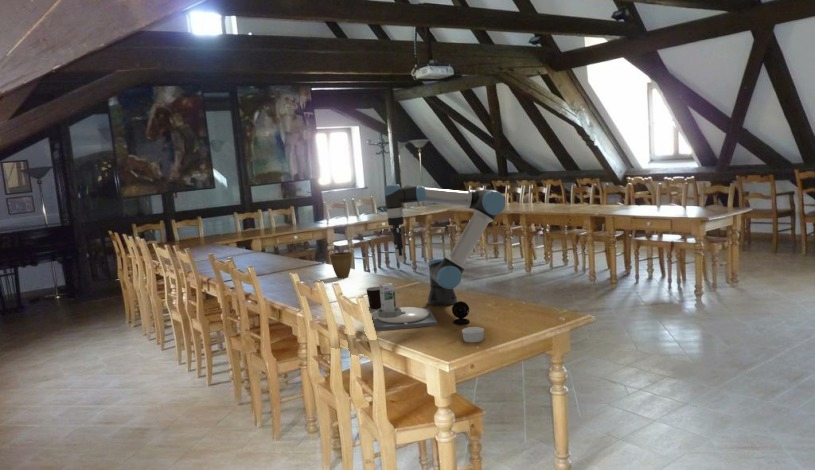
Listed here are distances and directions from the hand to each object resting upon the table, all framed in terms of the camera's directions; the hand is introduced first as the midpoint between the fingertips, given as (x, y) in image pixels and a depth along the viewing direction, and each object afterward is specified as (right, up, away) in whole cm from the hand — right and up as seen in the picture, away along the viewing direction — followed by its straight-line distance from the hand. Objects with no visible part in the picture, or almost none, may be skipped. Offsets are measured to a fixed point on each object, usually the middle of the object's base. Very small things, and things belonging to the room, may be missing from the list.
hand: (399, 260), depth 307 cm
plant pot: (-39, -16, +110) cm, 118 cm away
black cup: (-12, -25, +20) cm, 35 cm away
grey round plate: (+2, -26, -11) cm, 28 cm away
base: (+2, -28, -11) cm, 30 cm away
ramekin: (+31, -31, -49) cm, 65 cm away
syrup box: (-5, -25, -11) cm, 28 cm away
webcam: (+28, -28, -22) cm, 45 cm away
